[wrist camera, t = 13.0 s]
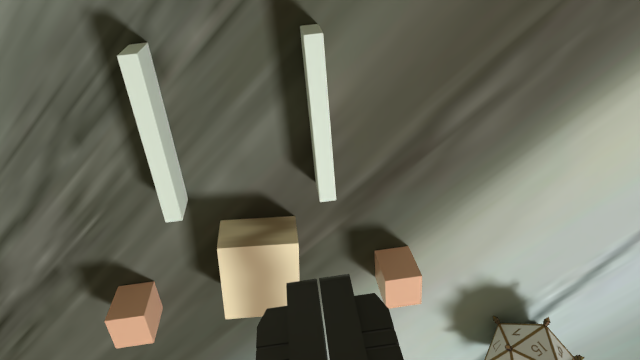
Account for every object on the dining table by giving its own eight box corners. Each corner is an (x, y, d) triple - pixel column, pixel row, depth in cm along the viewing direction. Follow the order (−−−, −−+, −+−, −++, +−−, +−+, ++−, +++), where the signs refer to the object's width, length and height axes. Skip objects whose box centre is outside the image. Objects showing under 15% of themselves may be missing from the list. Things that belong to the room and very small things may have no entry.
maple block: (294, 214, 39) (298, 243, 35) (296, 280, 42) (300, 313, 38) (220, 218, 38) (216, 248, 34) (228, 285, 41) (225, 319, 38)
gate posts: (408, 246, 41) (422, 275, 38) (407, 272, 43) (421, 303, 39) (118, 286, 40) (104, 321, 36) (128, 312, 41) (116, 348, 38)
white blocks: (317, 23, 31) (322, 32, 29) (330, 180, 37) (336, 200, 35) (129, 44, 31) (116, 55, 28) (172, 201, 36) (165, 222, 34)
